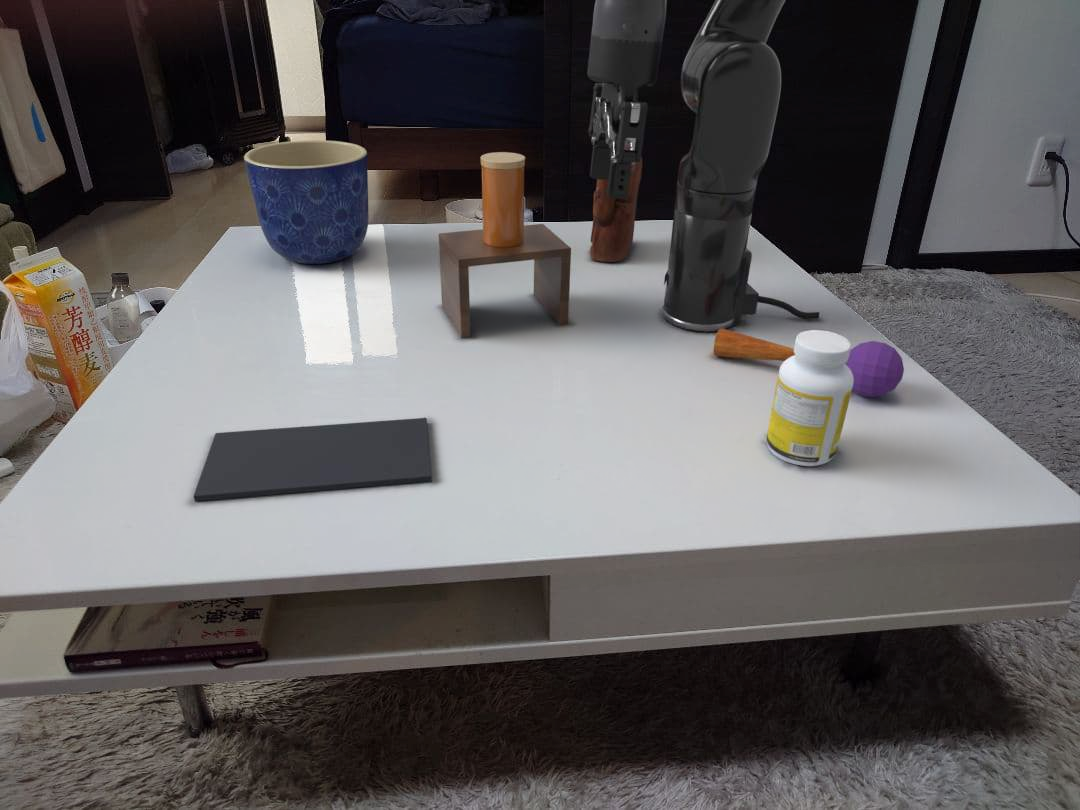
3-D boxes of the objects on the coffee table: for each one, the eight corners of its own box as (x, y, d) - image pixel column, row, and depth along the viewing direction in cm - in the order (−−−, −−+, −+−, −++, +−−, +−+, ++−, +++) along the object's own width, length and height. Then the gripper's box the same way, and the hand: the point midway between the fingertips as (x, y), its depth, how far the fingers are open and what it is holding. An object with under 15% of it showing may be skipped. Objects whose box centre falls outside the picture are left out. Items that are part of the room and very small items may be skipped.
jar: (521, 233, 97) (521, 151, 92) (527, 246, 93) (528, 161, 88) (480, 234, 97) (478, 152, 92) (484, 248, 92) (482, 163, 87)
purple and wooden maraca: (730, 313, 92) (912, 341, 82) (723, 361, 94) (900, 394, 84) (713, 321, 87) (904, 352, 78) (707, 372, 89) (892, 408, 79)
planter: (290, 283, 108) (272, 173, 100) (244, 250, 119) (225, 149, 111) (396, 259, 117) (388, 156, 109) (344, 230, 128) (334, 135, 121)
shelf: (541, 294, 106) (543, 223, 101) (568, 323, 98) (571, 247, 93) (441, 307, 102) (438, 233, 97) (461, 338, 94) (458, 259, 89)
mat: (426, 422, 77) (426, 417, 77) (431, 481, 69) (431, 475, 68) (216, 438, 74) (215, 432, 74) (194, 501, 66) (193, 495, 65)
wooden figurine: (599, 238, 127) (606, 124, 118) (637, 242, 126) (647, 127, 117) (584, 262, 117) (590, 139, 108) (625, 266, 116) (635, 143, 107)
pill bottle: (821, 431, 77) (846, 325, 71) (845, 469, 71) (875, 357, 65) (756, 432, 77) (776, 325, 71) (775, 469, 71) (799, 357, 65)
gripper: (682, 43, 76) (656, 206, 84) (642, 30, 88) (622, 174, 96) (609, 37, 75) (589, 204, 83) (578, 25, 87) (564, 171, 95)
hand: (607, 187), depth 89 cm, fingers open, 8 cm apart
